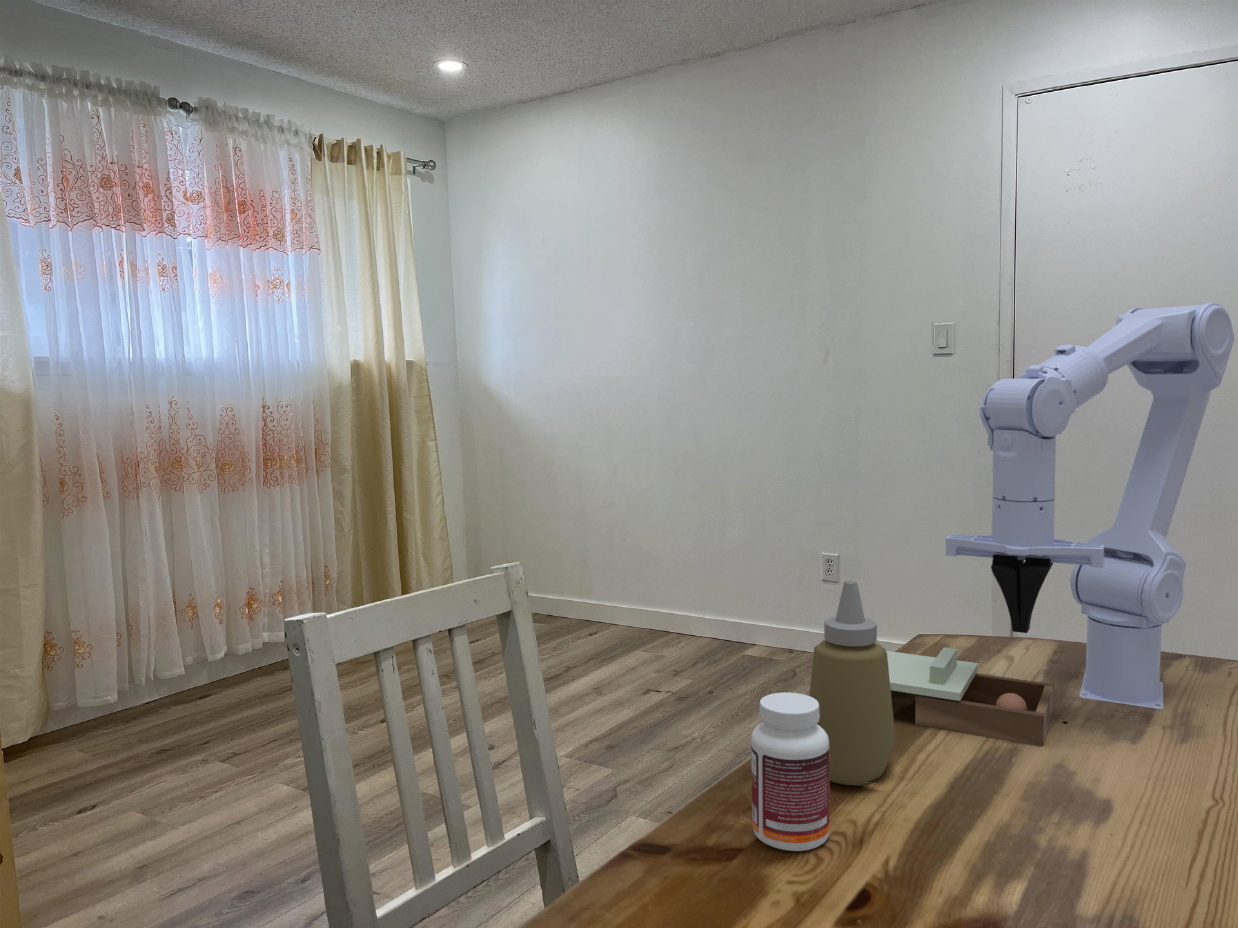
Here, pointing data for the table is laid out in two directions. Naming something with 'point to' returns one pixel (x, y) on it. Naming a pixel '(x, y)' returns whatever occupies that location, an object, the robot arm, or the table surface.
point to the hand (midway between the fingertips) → (1021, 629)
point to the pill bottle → (790, 773)
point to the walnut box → (992, 710)
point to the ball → (1011, 701)
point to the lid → (931, 674)
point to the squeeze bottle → (853, 693)
